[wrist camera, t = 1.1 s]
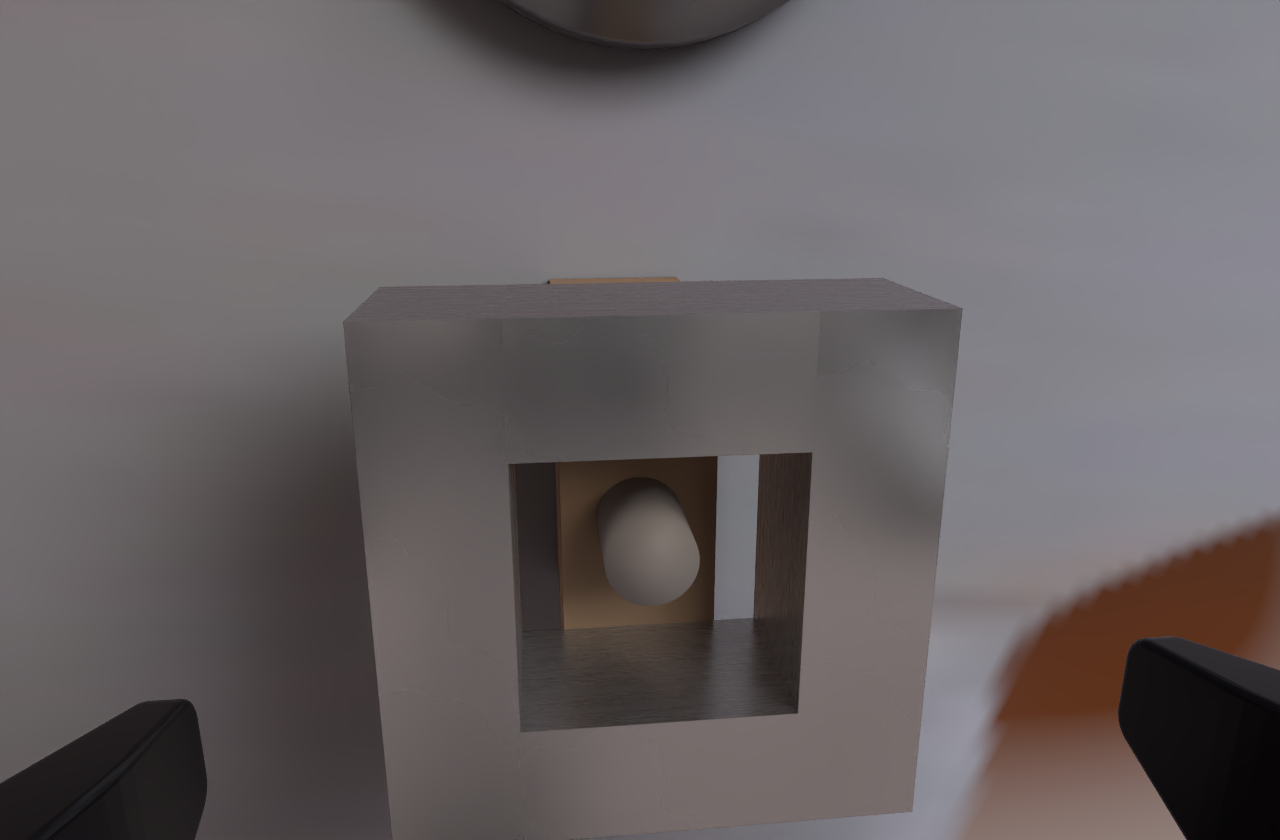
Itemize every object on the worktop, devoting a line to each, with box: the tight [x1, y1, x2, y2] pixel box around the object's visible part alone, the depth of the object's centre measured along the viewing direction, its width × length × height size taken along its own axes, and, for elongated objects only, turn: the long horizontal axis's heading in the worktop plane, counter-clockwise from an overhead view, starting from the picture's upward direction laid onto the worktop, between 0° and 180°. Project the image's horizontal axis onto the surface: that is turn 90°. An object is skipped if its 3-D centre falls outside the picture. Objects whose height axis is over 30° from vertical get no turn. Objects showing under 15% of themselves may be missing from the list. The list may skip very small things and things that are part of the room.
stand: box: [550, 277, 718, 629], centre depth 14 cm, size 6×2×6 cm, turn 0°
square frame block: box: [343, 278, 962, 840], centre depth 12 cm, size 7×7×2 cm
